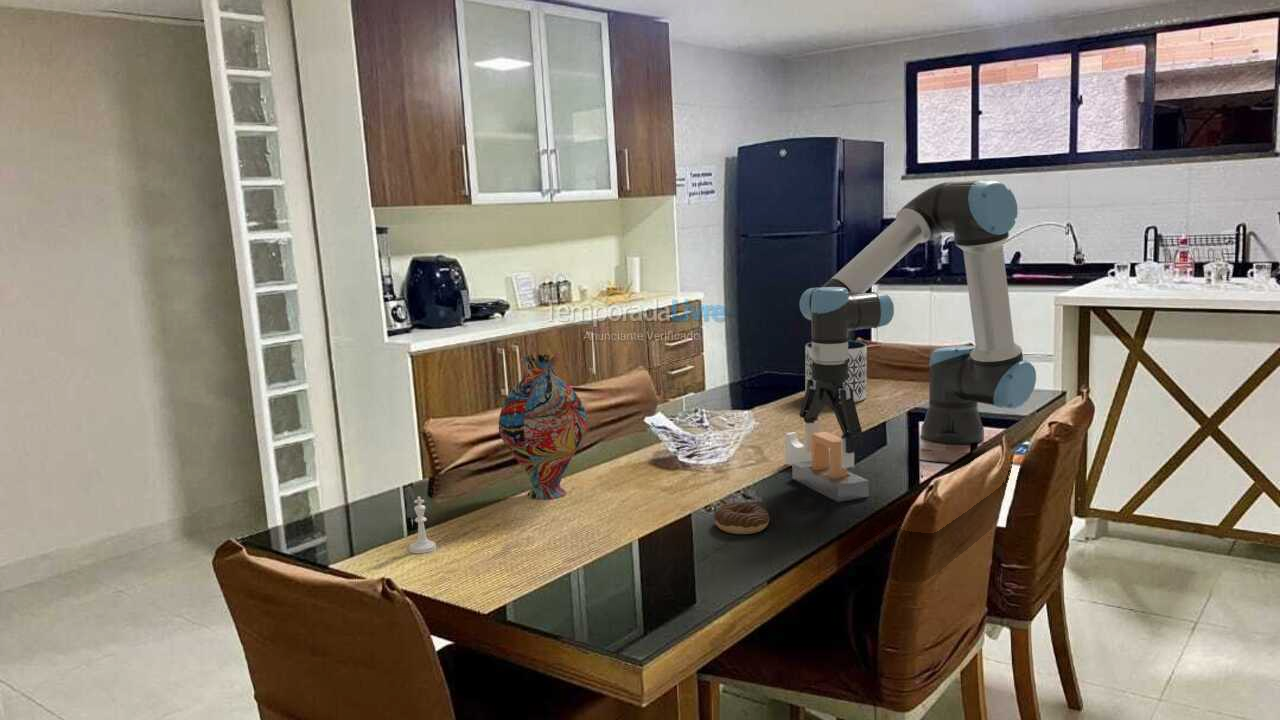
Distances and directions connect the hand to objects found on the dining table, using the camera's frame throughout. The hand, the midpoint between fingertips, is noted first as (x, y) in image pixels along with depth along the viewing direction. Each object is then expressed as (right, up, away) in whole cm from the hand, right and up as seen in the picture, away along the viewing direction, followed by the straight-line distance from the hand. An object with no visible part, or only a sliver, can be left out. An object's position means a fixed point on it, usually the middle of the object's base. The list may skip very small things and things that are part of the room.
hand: (829, 459), depth 204 cm
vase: (-61, -8, +3) cm, 61 cm away
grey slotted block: (0, -6, +1) cm, 6 cm away
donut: (-21, -11, -21) cm, 32 cm away
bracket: (+1, -3, +21) cm, 21 cm away
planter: (+19, +9, +87) cm, 90 cm away
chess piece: (-81, -14, -27) cm, 86 cm away
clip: (0, -5, +1) cm, 6 cm away
